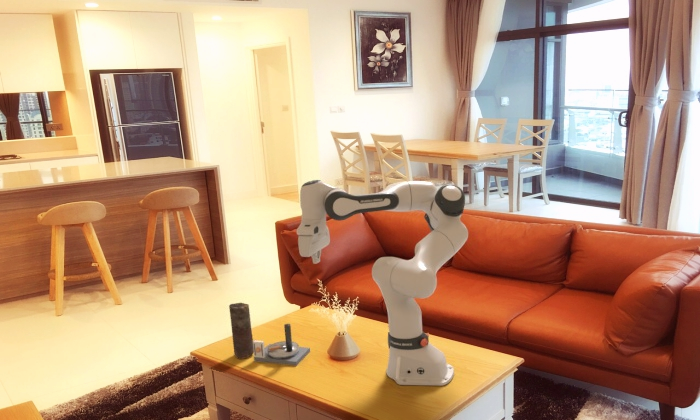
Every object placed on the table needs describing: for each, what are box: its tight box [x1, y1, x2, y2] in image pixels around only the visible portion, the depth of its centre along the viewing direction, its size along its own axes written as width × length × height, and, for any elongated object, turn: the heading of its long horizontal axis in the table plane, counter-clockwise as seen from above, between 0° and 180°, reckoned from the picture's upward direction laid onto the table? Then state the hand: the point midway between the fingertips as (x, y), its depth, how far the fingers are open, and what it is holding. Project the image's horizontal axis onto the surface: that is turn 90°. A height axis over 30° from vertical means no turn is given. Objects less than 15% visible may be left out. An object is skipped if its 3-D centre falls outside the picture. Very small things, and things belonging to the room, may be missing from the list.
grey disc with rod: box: [267, 323, 300, 359], centre depth 210 cm, size 12×12×12 cm
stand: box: [253, 340, 311, 367], centre depth 210 cm, size 17×13×8 cm
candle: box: [228, 302, 254, 360], centre depth 213 cm, size 8×7×20 cm
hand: (316, 262), depth 208 cm, fingers closed
